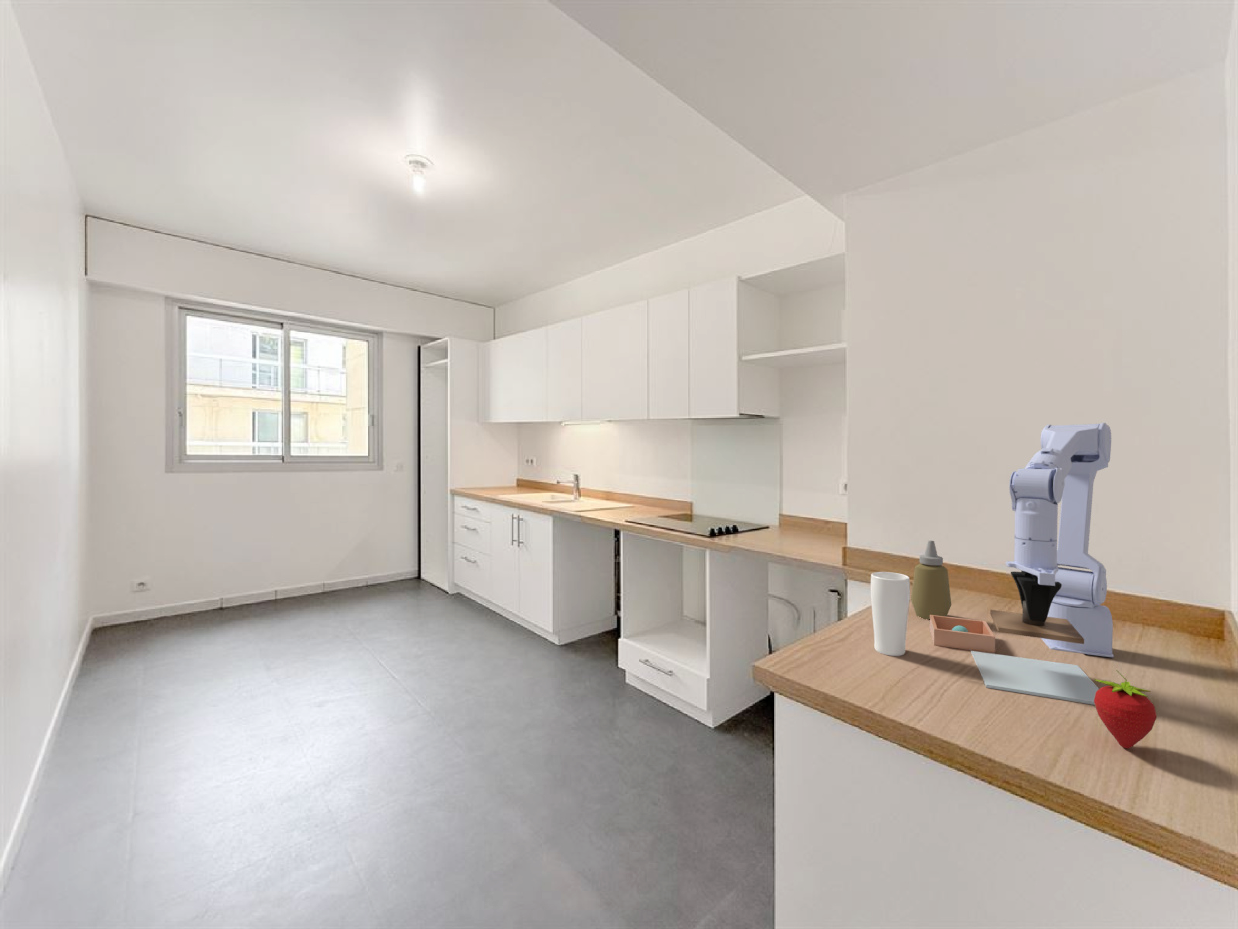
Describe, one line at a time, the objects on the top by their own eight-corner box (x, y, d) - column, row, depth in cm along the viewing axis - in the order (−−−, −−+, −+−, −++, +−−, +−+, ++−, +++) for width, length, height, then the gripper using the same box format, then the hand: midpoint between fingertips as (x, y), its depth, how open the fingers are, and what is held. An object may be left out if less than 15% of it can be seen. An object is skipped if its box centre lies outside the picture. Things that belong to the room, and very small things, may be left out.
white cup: (914, 660, 97) (915, 580, 97) (875, 658, 99) (876, 579, 98) (902, 647, 104) (903, 572, 104) (866, 644, 105) (866, 571, 105)
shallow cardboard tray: (985, 637, 109) (985, 621, 109) (994, 654, 100) (995, 636, 100) (929, 630, 113) (929, 614, 113) (934, 646, 104) (934, 629, 104)
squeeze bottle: (951, 616, 123) (951, 539, 122) (951, 625, 116) (951, 545, 116) (911, 610, 127) (912, 537, 127) (909, 619, 120) (910, 542, 120)
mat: (1077, 668, 93) (1077, 665, 93) (1113, 708, 79) (1113, 704, 79) (970, 653, 101) (970, 650, 101) (986, 687, 86) (986, 684, 86)
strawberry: (1094, 751, 68) (1095, 676, 68) (1092, 728, 74) (1093, 658, 73) (1159, 769, 64) (1161, 689, 64) (1151, 743, 70) (1153, 669, 69)
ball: (967, 639, 107) (967, 624, 107) (970, 644, 104) (970, 629, 104) (950, 637, 108) (950, 622, 108) (952, 641, 106) (952, 627, 106)
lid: (1066, 623, 92) (1067, 599, 92) (1084, 644, 82) (1084, 617, 82) (990, 613, 97) (990, 591, 97) (998, 632, 88) (998, 606, 88)
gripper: (998, 531, 97) (997, 603, 98) (1016, 543, 84) (1015, 627, 85) (1045, 533, 94) (1044, 608, 95) (1072, 547, 81) (1071, 633, 82)
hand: (1034, 617), depth 90 cm, fingers closed on lid, 3 cm apart
